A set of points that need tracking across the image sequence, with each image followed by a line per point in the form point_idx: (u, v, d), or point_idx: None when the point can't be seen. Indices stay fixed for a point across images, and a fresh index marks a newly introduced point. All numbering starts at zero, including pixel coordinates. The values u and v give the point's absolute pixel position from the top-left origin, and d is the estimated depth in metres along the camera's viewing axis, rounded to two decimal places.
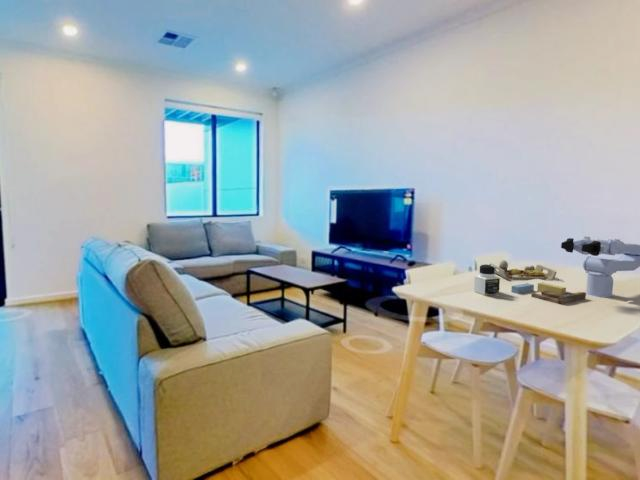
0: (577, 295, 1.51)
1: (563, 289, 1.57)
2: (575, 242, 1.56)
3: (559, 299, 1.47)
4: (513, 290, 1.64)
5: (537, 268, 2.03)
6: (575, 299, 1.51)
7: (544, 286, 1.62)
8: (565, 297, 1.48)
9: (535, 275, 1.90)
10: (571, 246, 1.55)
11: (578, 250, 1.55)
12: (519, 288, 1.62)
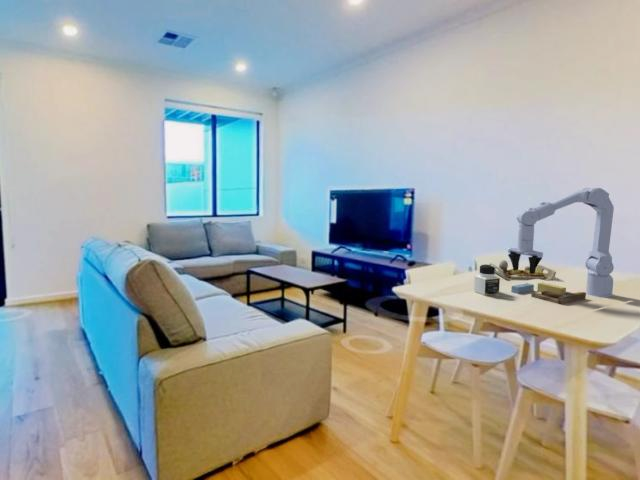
0: (577, 295, 1.51)
1: (563, 289, 1.57)
2: (514, 251, 1.66)
3: (559, 299, 1.47)
4: (513, 290, 1.64)
5: (538, 268, 2.02)
6: (575, 299, 1.51)
7: (544, 286, 1.62)
8: (565, 297, 1.48)
9: (534, 275, 1.90)
10: (517, 256, 1.67)
11: None
12: (519, 288, 1.62)
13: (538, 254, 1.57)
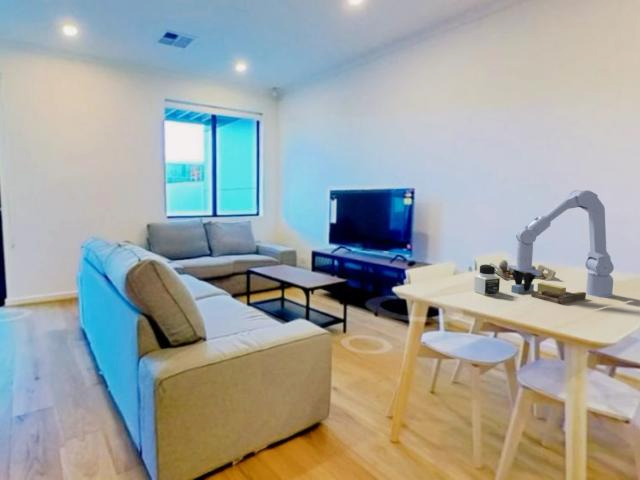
0: (577, 295, 1.51)
1: (563, 289, 1.57)
2: None
3: (559, 299, 1.47)
4: (513, 289, 1.64)
5: (539, 268, 2.02)
6: (575, 299, 1.51)
7: (544, 286, 1.62)
8: (565, 297, 1.48)
9: None
10: (520, 275, 1.66)
11: None
12: (519, 287, 1.62)
13: (537, 273, 1.58)
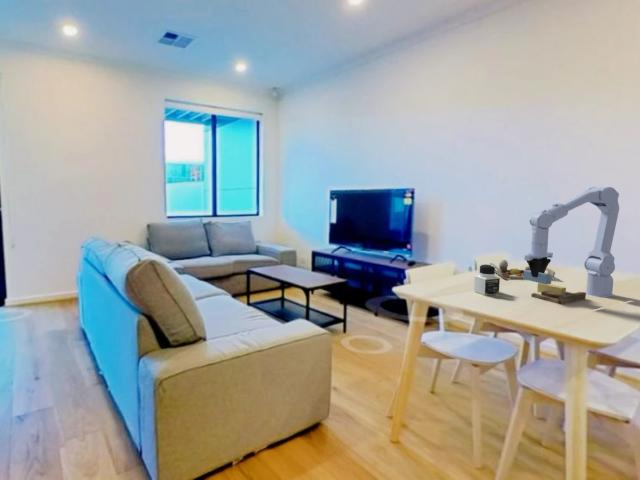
0: (577, 295, 1.51)
1: (563, 289, 1.57)
2: None
3: (559, 299, 1.47)
4: None
5: None
6: (575, 299, 1.51)
7: (544, 286, 1.62)
8: (565, 297, 1.48)
9: None
10: (541, 262, 1.59)
11: None
12: (525, 272, 1.62)
13: None
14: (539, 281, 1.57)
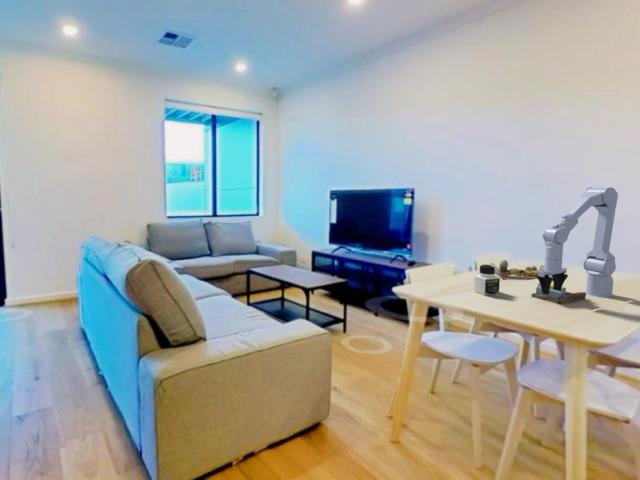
0: (577, 295, 1.51)
1: (563, 289, 1.57)
2: None
3: (559, 299, 1.47)
4: None
5: (540, 269, 2.01)
6: (575, 299, 1.51)
7: None
8: (565, 297, 1.48)
9: (533, 275, 1.90)
10: (558, 277, 1.55)
11: None
12: (538, 289, 1.57)
13: None
14: None
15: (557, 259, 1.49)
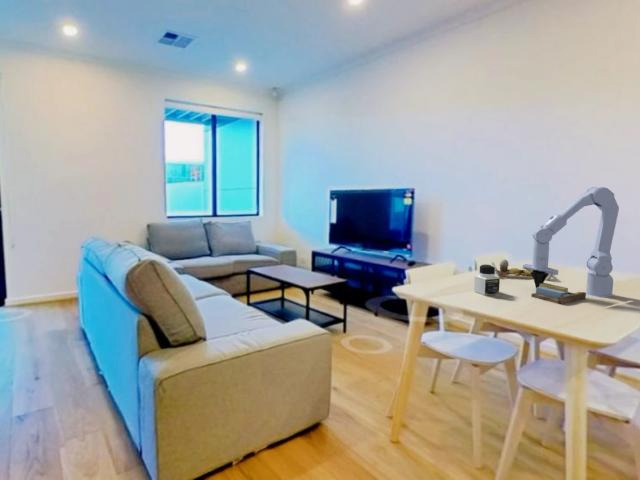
0: (577, 295, 1.51)
1: (565, 289, 1.56)
2: None
3: (559, 299, 1.47)
4: None
5: None
6: (575, 299, 1.51)
7: (546, 286, 1.62)
8: (565, 297, 1.48)
9: (531, 275, 1.90)
10: None
11: None
12: (538, 289, 1.57)
13: (553, 272, 1.59)
14: None
15: (539, 257, 1.62)
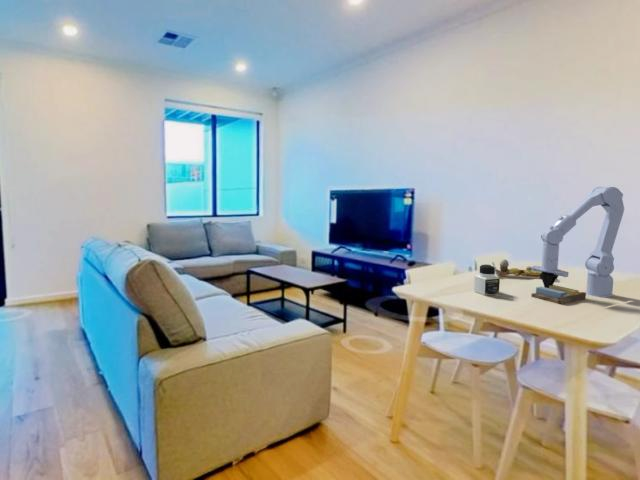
0: (577, 295, 1.51)
1: (576, 292, 1.52)
2: None
3: (559, 299, 1.47)
4: None
5: None
6: (575, 299, 1.51)
7: (556, 289, 1.58)
8: (565, 297, 1.48)
9: (531, 275, 1.90)
10: None
11: None
12: (538, 289, 1.57)
13: (564, 274, 1.55)
14: None
15: (550, 259, 1.58)
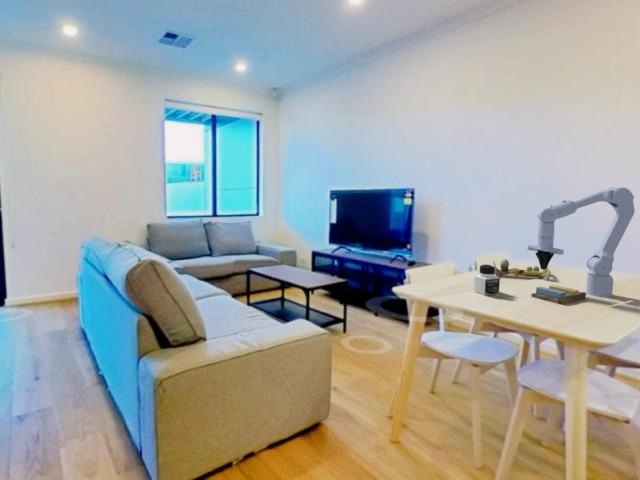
0: (577, 295, 1.51)
1: (576, 292, 1.52)
2: None
3: (559, 299, 1.47)
4: None
5: None
6: (575, 299, 1.51)
7: (556, 289, 1.58)
8: (565, 297, 1.48)
9: (530, 275, 1.90)
10: None
11: None
12: (538, 289, 1.57)
13: (559, 251, 1.58)
14: None
15: (544, 237, 1.61)
